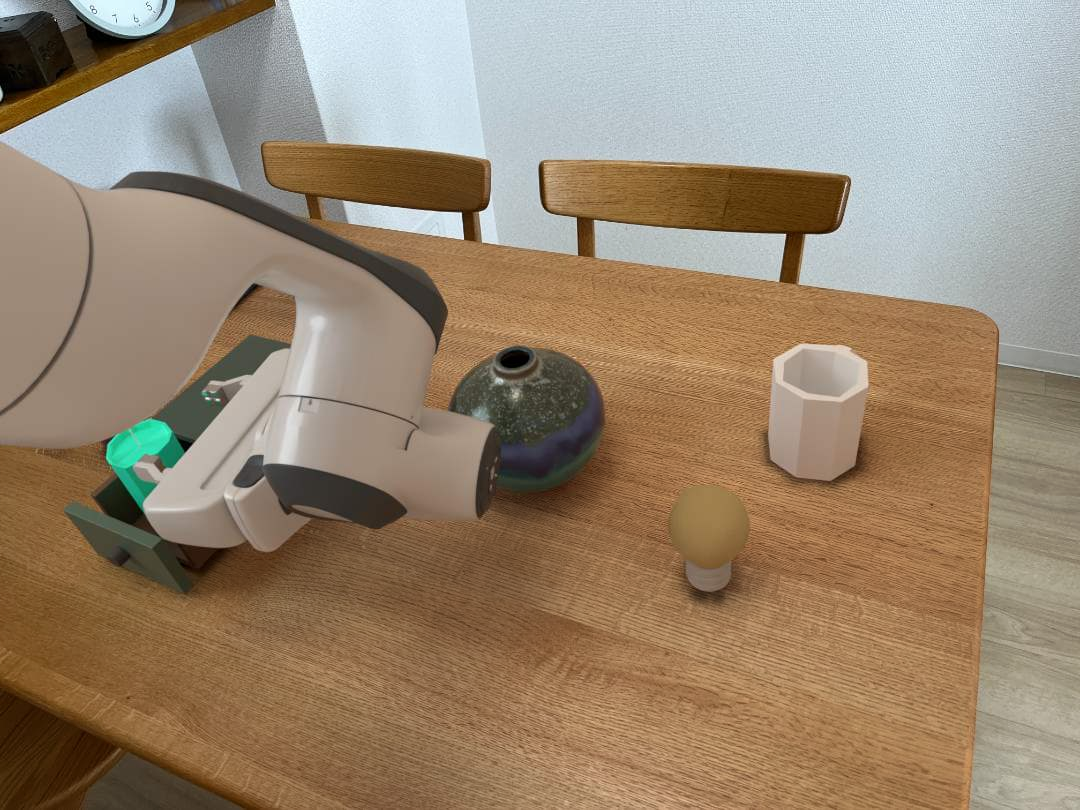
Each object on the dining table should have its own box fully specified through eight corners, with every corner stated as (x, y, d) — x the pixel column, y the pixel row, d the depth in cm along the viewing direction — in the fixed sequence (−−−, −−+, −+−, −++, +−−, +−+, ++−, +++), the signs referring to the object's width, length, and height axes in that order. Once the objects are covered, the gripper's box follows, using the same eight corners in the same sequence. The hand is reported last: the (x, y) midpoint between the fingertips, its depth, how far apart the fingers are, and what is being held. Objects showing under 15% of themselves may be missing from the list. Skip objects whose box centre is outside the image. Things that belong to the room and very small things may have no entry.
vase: (434, 500, 80) (401, 400, 71) (496, 400, 90) (474, 301, 81) (580, 532, 74) (564, 428, 66) (629, 421, 85) (620, 318, 76)
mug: (839, 493, 74) (852, 413, 67) (751, 461, 78) (754, 384, 72) (883, 414, 80) (899, 335, 74) (800, 388, 85) (807, 312, 78)
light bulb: (739, 616, 66) (743, 538, 59) (662, 599, 68) (657, 522, 61) (752, 555, 70) (757, 476, 63) (679, 541, 72) (677, 463, 66)
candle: (170, 496, 83) (114, 409, 75) (225, 493, 82) (174, 405, 74) (146, 542, 78) (83, 455, 70) (203, 540, 77) (146, 451, 70)
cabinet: (274, 515, 81) (242, 455, 76) (181, 481, 87) (145, 423, 82) (365, 416, 91) (343, 356, 86) (276, 391, 97) (250, 334, 91)
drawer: (175, 605, 73) (141, 558, 69) (88, 564, 79) (51, 519, 74) (288, 485, 83) (264, 437, 79) (203, 456, 88) (177, 410, 84)
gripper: (360, 338, 70) (230, 327, 75) (226, 515, 56) (76, 488, 61) (379, 393, 75) (255, 378, 79) (259, 570, 61) (116, 541, 65)
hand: (176, 427), depth 70 cm, fingers open, 8 cm apart
